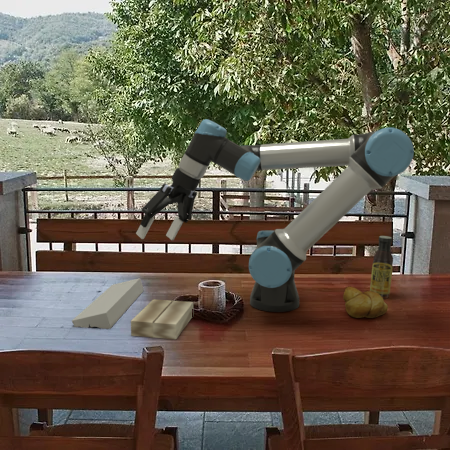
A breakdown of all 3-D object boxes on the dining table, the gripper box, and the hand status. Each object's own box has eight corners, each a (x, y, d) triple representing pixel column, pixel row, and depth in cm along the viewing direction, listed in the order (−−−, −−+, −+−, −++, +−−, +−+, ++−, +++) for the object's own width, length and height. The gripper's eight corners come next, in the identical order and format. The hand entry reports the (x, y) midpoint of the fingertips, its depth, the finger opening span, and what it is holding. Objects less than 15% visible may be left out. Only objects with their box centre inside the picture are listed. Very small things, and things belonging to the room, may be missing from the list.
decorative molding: (76, 337, 138) (111, 329, 136) (71, 320, 137) (106, 312, 136) (116, 298, 171) (144, 291, 170) (112, 284, 170) (140, 278, 169)
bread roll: (382, 309, 154) (384, 284, 152) (393, 321, 144) (395, 294, 143) (340, 309, 154) (341, 283, 152) (348, 321, 144) (349, 293, 143)
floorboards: (193, 315, 147) (193, 301, 146) (176, 339, 130) (175, 323, 129) (153, 312, 149) (153, 298, 148) (131, 335, 132) (130, 319, 131)
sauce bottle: (368, 298, 164) (372, 237, 161) (370, 292, 170) (374, 234, 167) (389, 300, 162) (394, 239, 159) (391, 295, 168) (395, 235, 164)
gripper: (204, 172, 154) (172, 231, 159) (152, 159, 133) (117, 228, 138) (222, 185, 151) (188, 245, 156) (171, 173, 129) (134, 243, 135)
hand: (155, 237), depth 147 cm, fingers open, 13 cm apart
